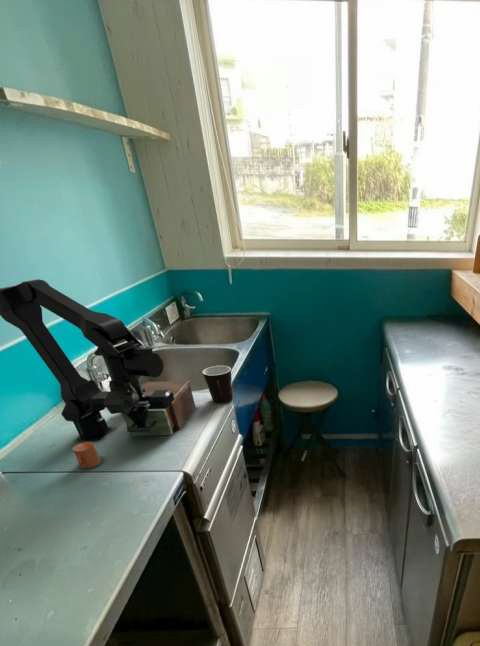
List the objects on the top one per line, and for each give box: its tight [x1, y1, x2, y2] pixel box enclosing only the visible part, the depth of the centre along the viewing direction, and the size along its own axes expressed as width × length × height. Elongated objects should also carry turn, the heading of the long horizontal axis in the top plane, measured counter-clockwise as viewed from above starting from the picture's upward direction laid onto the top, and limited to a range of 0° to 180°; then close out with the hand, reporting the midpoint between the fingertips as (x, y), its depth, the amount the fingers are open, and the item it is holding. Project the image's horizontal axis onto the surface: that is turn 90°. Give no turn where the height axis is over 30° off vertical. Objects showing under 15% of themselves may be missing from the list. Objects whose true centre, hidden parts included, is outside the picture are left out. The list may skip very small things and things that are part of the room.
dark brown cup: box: [202, 365, 234, 405], centre depth 126 cm, size 12×9×10 cm
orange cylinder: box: [72, 441, 102, 469], centre depth 96 cm, size 4×6×5 cm
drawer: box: [121, 405, 176, 436], centre depth 110 cm, size 18×11×7 cm, turn 2°
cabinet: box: [141, 380, 197, 431], centre depth 116 cm, size 15×13×9 cm
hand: (143, 429), depth 104 cm, fingers closed
